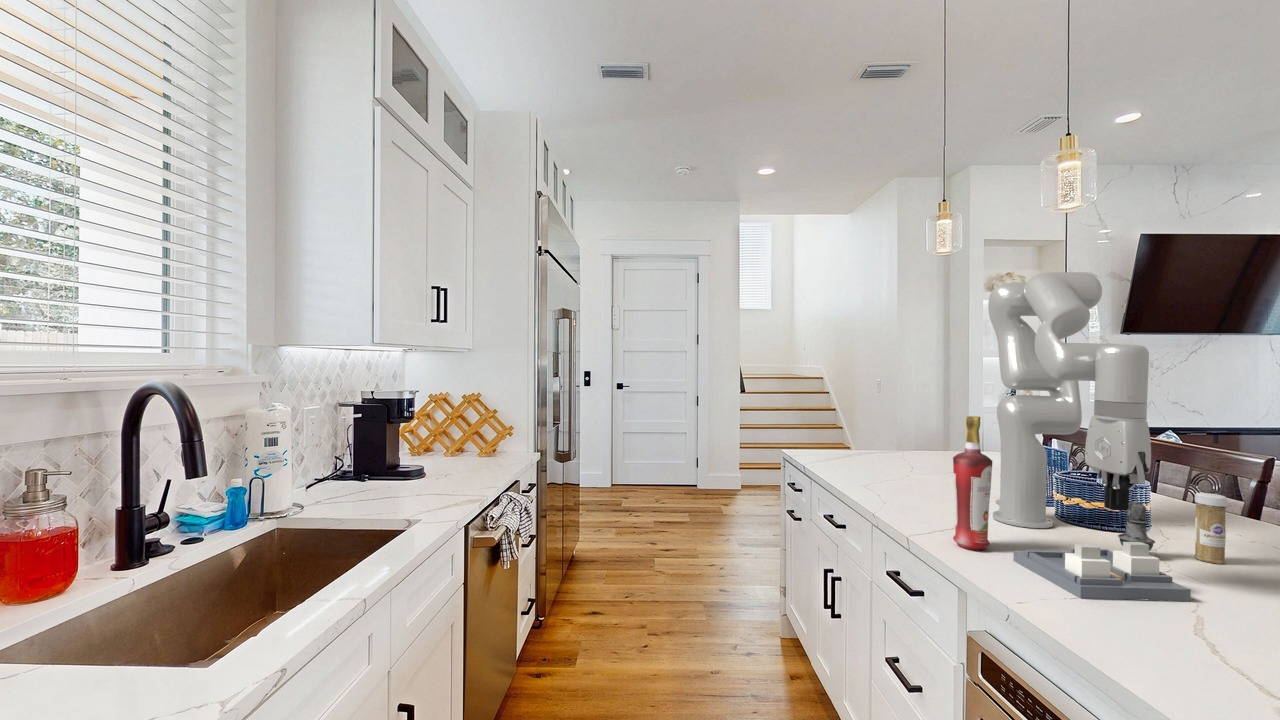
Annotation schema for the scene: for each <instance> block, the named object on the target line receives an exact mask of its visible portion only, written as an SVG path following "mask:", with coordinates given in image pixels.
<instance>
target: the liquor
mask: <svg viewBox="0 0 1280 720" xmlns="http://www.w3.org/2000/svg"><path fill="white" fill-rule="evenodd" d="M965 427H966V436H965V443H964V451H962V452H959V453H957V454H956V455H954V456H953V457H952V463H953V465H952V466H953V469H952V471H953V489H954V490H953V491H954V492H953V493H954V515H955V516H954V517H955V519H954V523H955V525H954V526H955V528H954V529H955V530H954V531H955V534H954V535H953V536H952V539H953V541H954V542H955V543H956V544H957V545H958V546H959V548H963V549H965V550H968V551H969V550H970V551H983V550H985V549H986V548H987V547H989V546H990V545H991V543H990V541H989V539H988V536H989V515H990V502H991V501H990V500H991V490H992V474H993V473H992V472H993V460H992V459H991V458H990V457H989V456H987V455H985V454H983V453H982V452H981V441H980V427H981V416H977V415H966V416H965Z"/></svg>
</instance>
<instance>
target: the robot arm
mask: <svg viewBox="0 0 1280 720" xmlns="http://www.w3.org/2000/svg"><path fill="white" fill-rule="evenodd" d="M1102 295H1103V287H1102V284H1101V282H1100V280H1099V279H1098V278H1097V276H1096V275H1094V274H1092V273H1089V272H1081V271H1078V272H1073V271H1072V272H1062V271H1061V272H1059V271H1058V272H1043V273H1040V274H1039V273H1038V274H1036V275H1034V276H1032V277H1030V278H1029V280H1027V281H1024V282H1023V281H1020V282H1019V281H1018V282H1009V283H1008V282H1007V283H1003V284H1002V283H1001V284H1000V285H997V286H995V287H994V288H993V289H992V290H991V292H990V294H989V298H988V302H987V303H988V304H987V305H988V306H987V308H988V315H989V320H990V322H991V325H992V327H993V330H994V333H995V335H996V340H997V350H998V360H999V372H1000V379H1001V382H1002V384H1003V385H1004V387H1006V388H1007V389H1010V390H1014V391H1032V392H1033V391H1034V392H1035V391H1036V392H1038V391H1039V392H1041V391H1042V392H1049V395H1036V394H1034V395H1033V394H1016V395H1015V394H1014V395H1009V396H1007V397H1003V398H1002V399H1000V400H999V402H998V404H997V406H996V415H997V416H996V417H997V421H998V429H999V436H1000V438H999V439H1000V487H999V488H1000V489H999V493H1000V494H999V497H1000V498H999V499H996V500H995V504H996V505H998V509H999V510H996V511H993V512H992V518H993V519H994V520H995V521H997V522H1000V523H1003V524H1008V525H1012V526H1014V527H1015V526H1016V527H1020V528H1021V527H1023V528H1030V529H1048V528H1049V527H1050V528H1052V527H1053V526H1054V520H1053V519H1052V518H1050V517H1047V516H1046V515H1047V514H1046V512H1047V511H1046V509H1047V465H1048V464H1047V451H1046V449H1045V447H1044V446H1043V444H1042V443H1041V441H1040V440H1039V439H1038V438H1037V436H1036V435H1062V436H1063V435H1072V434H1075V433H1076V432H1078V431H1079V430H1080V428H1081V426H1082V422H1083V413H1082V412H1083V411H1082V403H1081V401H1082V400H1081V393H1080V386H1079V385H1080V383H1079V381H1080V382H1081V381H1082V382H1086V381H1087V382H1094V394H1093V396H1094V398H1093V399H1094V400H1093V401H1094V403H1093V415H1091V417H1090V420H1089V423H1088V427H1087V432H1086V438H1085V446H1084V447H1085V448H1084V449H1085V450H1084V463H1085V464H1086V465H1088V466H1089V467H1091V469H1092V471H1093V472H1095V473H1096V474H1098V475H1099V476H1100V477H1101V483H1102V485H1103V487H1104V499H1103V500H1104V502H1103V503H1104V504H1103V505H1104V508H1106V509H1108V510H1111V511H1128V509H1129V503H1130V490H1133V486H1134V485H1136V484H1137V485H1138V484H1139V485H1140V484H1143V485H1144V484H1146V476H1147V475H1148V474H1149V473H1150V472H1151V467H1152V465H1151V464H1152V445H1151V444H1152V443H1151V433H1150V426H1149V422H1148V421H1147V419H1148V418H1147V417H1148V415H1147V414H1148V394H1149V393H1148V390H1149V365H1150V364H1149V363H1150V362H1149V361H1150V353H1149V350H1148V348H1147V347H1146V346H1143V345H1139V344H1119V343H1102V342H1101V343H1097V342H1092V343H1091V342H1089V343H1088V342H1082V343H1081V342H1063V341H1062V340H1063V339H1065V338H1069V337H1071V336H1074V335H1076V334H1078V333H1080V331H1082V330H1083V329H1084V328H1086V326H1087V325H1088V324H1089V322H1090V319H1091V312H1090V309H1092V308H1094V307H1095V306H1097V305H1098V304H1099V303H1100V301H1101V298H1102ZM1022 317H1037V318H1038V319H1039V321H1040V323H1041V324H1040V326H1039V327H1038V329H1037V331H1036V332H1035V330H1034V329H1033V327H1031V325H1029V324H1028V323H1027V321H1026V320H1024V319H1023V318H1022Z"/></svg>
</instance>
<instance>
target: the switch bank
mask: <svg viewBox="0 0 1280 720" xmlns="http://www.w3.org/2000/svg"><path fill="white" fill-rule="evenodd" d="M1065 553H1075V547H1074V548H1073V547H1072V548H1070V549H1069V551H1063V550H1061V551H1059V550H1056V551H1054V550H1029V549H1028V550H1026V549H1025V550H1013V562H1015V563H1016V564H1018V565H1021V566H1023V567H1025V569H1028V570H1029V571H1031V572H1032V573H1035V574H1037V575H1038V576H1040V577H1042V578H1044V579H1045V580H1047V581H1049V582H1051V583H1052V584H1054V585H1056V586H1057V587H1060V588H1062V589H1063V590H1064V591H1067V592H1069V593H1070V594H1072V595H1074V596H1076V597H1077V598H1079V599H1088V600H1089V599H1093V600H1096V599H1097V600H1122V599H1148V600H1147V601H1158V600H1174V601H1173V602H1191V595H1192V593H1191V589H1190V588H1189V587H1186V586H1183V585H1181V584H1179V583H1177V582H1174V581H1173V576H1171V575H1168V574H1166V573H1164V572H1161V571H1160V570H1159V575H1139V574H1130V573H1127V572H1125V571H1123V570H1121V569H1119V568H1116V567H1114V566H1113V550H1112V551H1110V549H1107V548H1100V557H1101V558H1103V559H1106V560H1108V561H1110V578H1094V577H1080V576H1078V575H1076V574H1074V573H1072V572H1070V571H1068V570H1066V569H1065Z"/></svg>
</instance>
